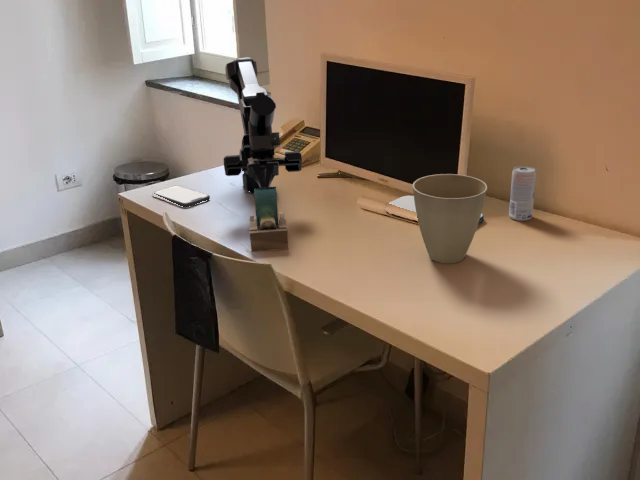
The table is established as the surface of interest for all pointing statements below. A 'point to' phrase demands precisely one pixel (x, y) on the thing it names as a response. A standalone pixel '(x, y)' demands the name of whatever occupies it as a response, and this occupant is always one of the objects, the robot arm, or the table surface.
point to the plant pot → (448, 213)
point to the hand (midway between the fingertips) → (265, 195)
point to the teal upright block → (266, 208)
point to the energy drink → (522, 193)
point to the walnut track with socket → (269, 236)
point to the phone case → (182, 196)
